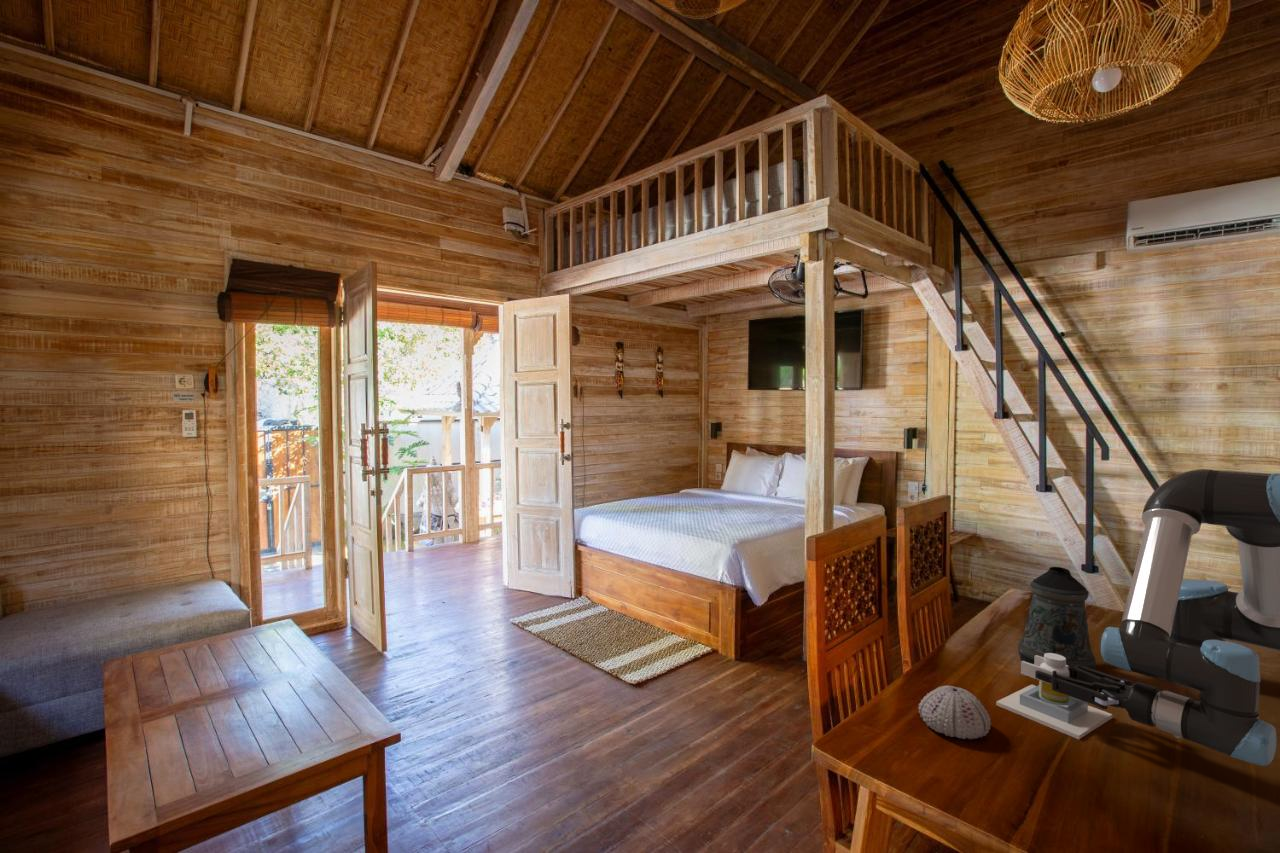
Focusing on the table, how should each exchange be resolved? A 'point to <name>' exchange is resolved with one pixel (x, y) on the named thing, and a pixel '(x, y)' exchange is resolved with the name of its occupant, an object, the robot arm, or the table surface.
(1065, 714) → the socket
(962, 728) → the sea urchin shell
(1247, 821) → the table surface
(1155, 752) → the table surface
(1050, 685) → the supplement bottle
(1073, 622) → the beer stein
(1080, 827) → the table surface
